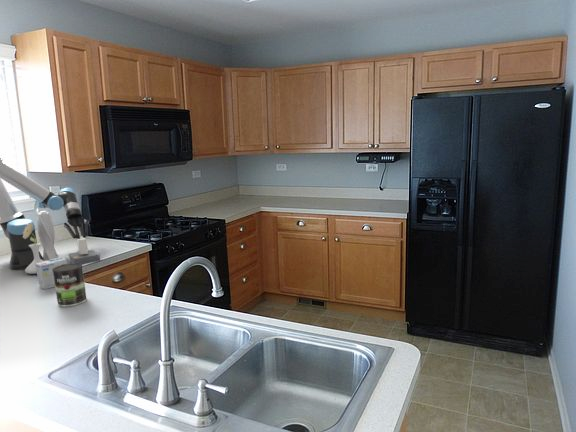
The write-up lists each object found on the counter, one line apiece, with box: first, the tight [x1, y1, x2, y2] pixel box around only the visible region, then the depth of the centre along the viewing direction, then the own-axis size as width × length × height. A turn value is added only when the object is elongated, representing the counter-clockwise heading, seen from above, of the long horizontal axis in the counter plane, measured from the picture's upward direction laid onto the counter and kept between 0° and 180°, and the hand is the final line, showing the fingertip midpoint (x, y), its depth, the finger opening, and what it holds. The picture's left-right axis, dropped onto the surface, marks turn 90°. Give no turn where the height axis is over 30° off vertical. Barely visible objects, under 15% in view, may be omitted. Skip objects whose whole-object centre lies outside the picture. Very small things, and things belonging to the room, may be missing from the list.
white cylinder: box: [76, 237, 89, 255], centre depth 225 cm, size 4×4×8 cm
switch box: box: [68, 249, 100, 265], centre depth 226 cm, size 12×14×3 cm
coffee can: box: [52, 263, 88, 308], centre depth 165 cm, size 10×10×14 cm
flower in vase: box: [23, 223, 44, 275], centre depth 205 cm, size 13×11×25 cm
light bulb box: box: [35, 256, 68, 290], centre depth 188 cm, size 11×7×11 cm, turn 141°
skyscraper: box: [36, 207, 59, 261], centre depth 227 cm, size 8×8×28 cm
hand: (84, 247), depth 229 cm, fingers closed
